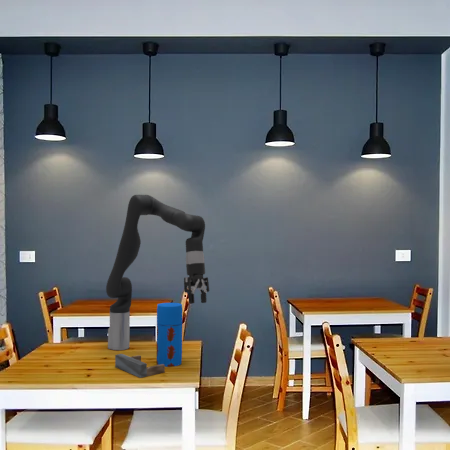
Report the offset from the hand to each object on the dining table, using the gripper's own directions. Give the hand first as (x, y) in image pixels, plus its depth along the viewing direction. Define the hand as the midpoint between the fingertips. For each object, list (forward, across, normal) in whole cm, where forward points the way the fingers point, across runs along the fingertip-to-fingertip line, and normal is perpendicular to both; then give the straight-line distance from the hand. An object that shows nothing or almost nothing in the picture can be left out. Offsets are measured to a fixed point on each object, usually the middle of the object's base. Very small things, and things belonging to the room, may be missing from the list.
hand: (197, 303), depth 215 cm
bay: (+25, +8, -25) cm, 36 cm away
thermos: (+24, -6, -21) cm, 33 cm away
